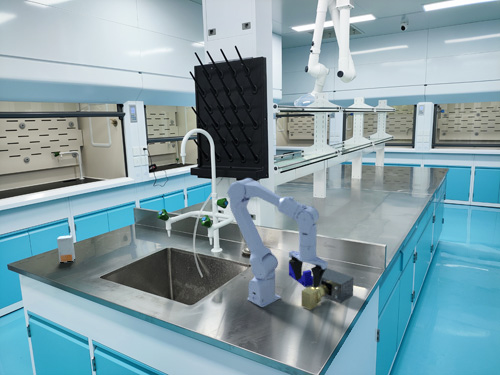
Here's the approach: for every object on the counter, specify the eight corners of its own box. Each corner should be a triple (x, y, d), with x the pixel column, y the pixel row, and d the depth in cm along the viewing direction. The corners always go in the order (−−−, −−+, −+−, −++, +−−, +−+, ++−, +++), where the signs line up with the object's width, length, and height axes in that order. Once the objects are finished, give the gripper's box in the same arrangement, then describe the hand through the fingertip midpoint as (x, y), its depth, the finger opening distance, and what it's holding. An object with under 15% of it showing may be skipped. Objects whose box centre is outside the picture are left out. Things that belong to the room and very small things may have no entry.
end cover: (312, 311, 115) (312, 294, 114) (299, 304, 119) (299, 289, 118) (330, 300, 122) (330, 284, 121) (317, 294, 126) (317, 279, 125)
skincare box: (59, 263, 162) (56, 239, 160) (61, 260, 166) (58, 236, 164) (73, 261, 164) (70, 237, 161) (75, 258, 168) (72, 234, 165)
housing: (339, 303, 120) (340, 285, 119) (311, 292, 129) (311, 274, 128) (353, 295, 126) (353, 277, 125) (325, 284, 135) (325, 267, 133)
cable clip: (314, 284, 135) (314, 270, 134) (304, 287, 133) (304, 272, 132) (298, 273, 146) (298, 259, 145) (288, 275, 144) (288, 261, 143)
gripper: (333, 246, 111) (332, 285, 113) (298, 236, 121) (298, 272, 124) (320, 252, 106) (319, 293, 109) (284, 241, 117) (284, 278, 119)
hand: (307, 282), depth 116 cm, fingers open, 7 cm apart
